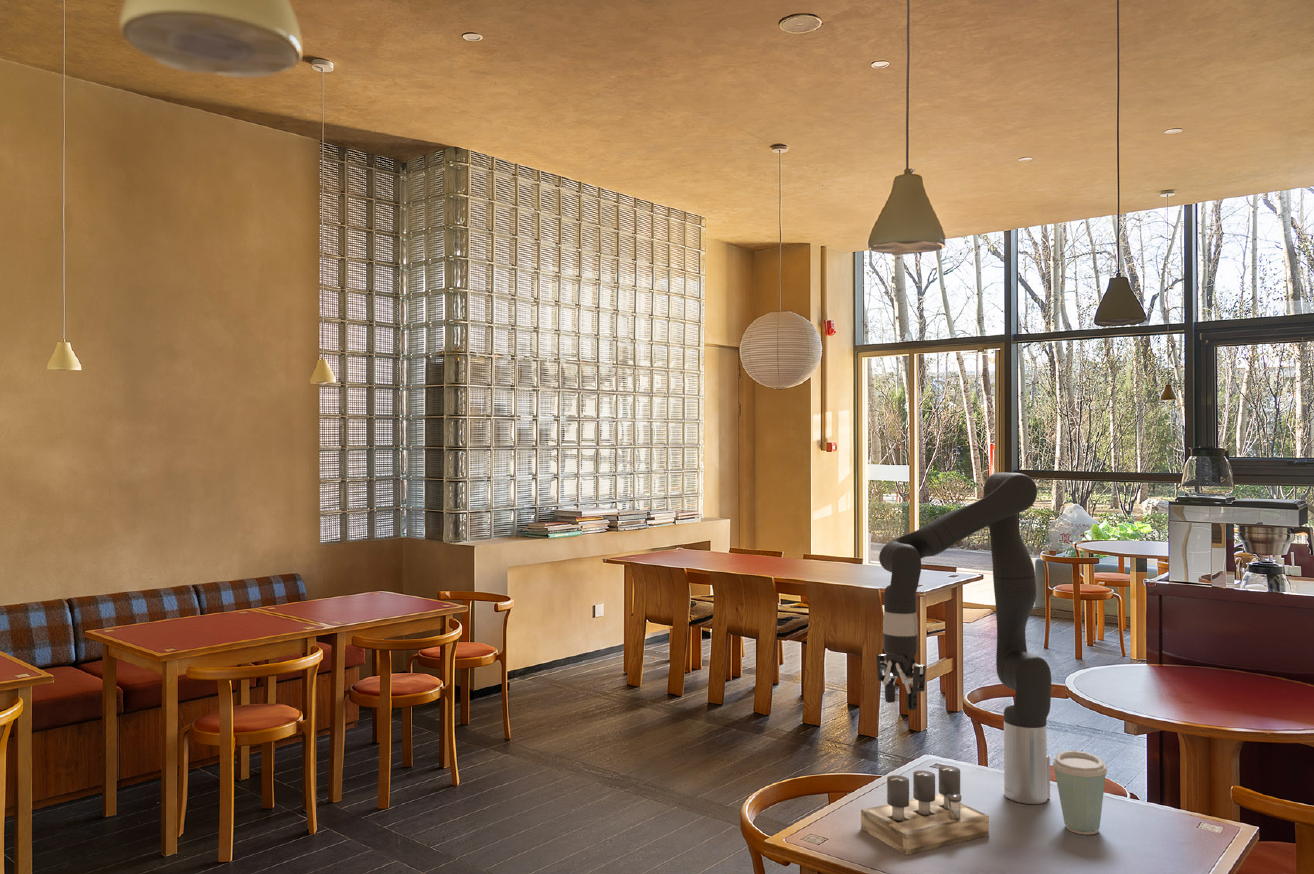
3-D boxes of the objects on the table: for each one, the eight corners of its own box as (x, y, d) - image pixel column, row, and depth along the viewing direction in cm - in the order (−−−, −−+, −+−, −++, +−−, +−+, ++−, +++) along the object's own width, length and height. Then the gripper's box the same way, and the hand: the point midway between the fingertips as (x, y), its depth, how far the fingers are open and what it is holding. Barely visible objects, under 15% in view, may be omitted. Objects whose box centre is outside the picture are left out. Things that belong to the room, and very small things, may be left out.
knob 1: (899, 812, 189) (899, 773, 189) (913, 820, 185) (913, 780, 185) (882, 816, 187) (882, 776, 187) (897, 823, 183) (896, 783, 183)
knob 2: (949, 801, 195) (949, 763, 195) (965, 808, 191) (964, 770, 191) (934, 805, 193) (934, 766, 193) (949, 812, 189) (949, 773, 190)
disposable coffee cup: (1115, 841, 185) (1114, 767, 185) (1059, 836, 187) (1058, 763, 187) (1100, 821, 195) (1099, 751, 195) (1047, 817, 197) (1046, 748, 198)
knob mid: (925, 807, 192) (924, 768, 192) (939, 814, 188) (939, 774, 188) (909, 810, 190) (908, 771, 190) (923, 817, 186) (923, 778, 186)
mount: (940, 811, 200) (940, 793, 200) (988, 835, 188) (988, 815, 188) (861, 828, 191) (861, 809, 191) (906, 854, 178) (906, 834, 178)
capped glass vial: (954, 814, 188) (954, 792, 188) (964, 819, 186) (964, 796, 186) (944, 817, 187) (944, 794, 187) (954, 821, 184) (954, 798, 184)
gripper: (935, 635, 199) (936, 711, 199) (891, 625, 212) (892, 696, 212) (909, 638, 196) (909, 716, 195) (866, 627, 209) (866, 700, 208)
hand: (900, 705), depth 203 cm, fingers open, 6 cm apart
